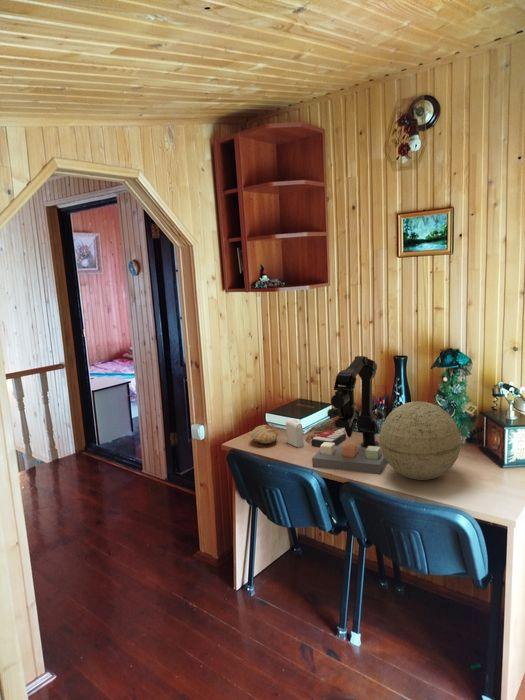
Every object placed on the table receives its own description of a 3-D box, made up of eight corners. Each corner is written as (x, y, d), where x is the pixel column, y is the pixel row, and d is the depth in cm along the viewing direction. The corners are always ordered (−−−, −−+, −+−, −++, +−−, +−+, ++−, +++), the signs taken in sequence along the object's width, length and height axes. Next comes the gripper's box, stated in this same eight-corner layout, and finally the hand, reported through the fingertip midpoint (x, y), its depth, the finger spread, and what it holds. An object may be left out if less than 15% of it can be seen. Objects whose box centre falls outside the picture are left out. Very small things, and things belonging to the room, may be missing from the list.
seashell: (268, 432, 271) (292, 437, 262) (243, 443, 253) (268, 449, 245) (268, 418, 270) (292, 422, 261) (243, 428, 252) (268, 433, 244)
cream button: (324, 452, 229) (324, 441, 228) (335, 453, 226) (334, 442, 226) (321, 456, 224) (320, 446, 223) (331, 458, 222) (331, 446, 221)
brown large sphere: (454, 499, 182) (452, 417, 177) (371, 487, 197) (368, 411, 192) (466, 466, 208) (465, 394, 203) (392, 458, 223) (389, 390, 218)
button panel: (325, 453, 235) (324, 444, 234) (388, 459, 222) (388, 450, 221) (312, 466, 221) (311, 457, 220) (380, 474, 208) (379, 464, 207)
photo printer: (286, 442, 252) (284, 418, 250) (293, 440, 254) (291, 416, 252) (297, 448, 243) (295, 423, 241) (305, 446, 245) (303, 421, 243)
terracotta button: (346, 454, 224) (346, 443, 223) (357, 455, 222) (357, 444, 221) (343, 459, 220) (342, 447, 219) (354, 460, 218) (353, 449, 217)
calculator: (346, 432, 250) (331, 440, 238) (346, 440, 251) (331, 449, 239) (326, 429, 257) (310, 437, 245) (326, 437, 257) (311, 446, 245)
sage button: (369, 456, 220) (368, 445, 219) (381, 458, 218) (380, 446, 217) (366, 461, 215) (365, 450, 214) (378, 462, 213) (377, 451, 212)
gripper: (335, 394, 228) (338, 428, 231) (321, 406, 212) (324, 443, 215) (360, 395, 223) (362, 430, 226) (348, 408, 207) (350, 445, 210)
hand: (349, 436), depth 219 cm, fingers closed
